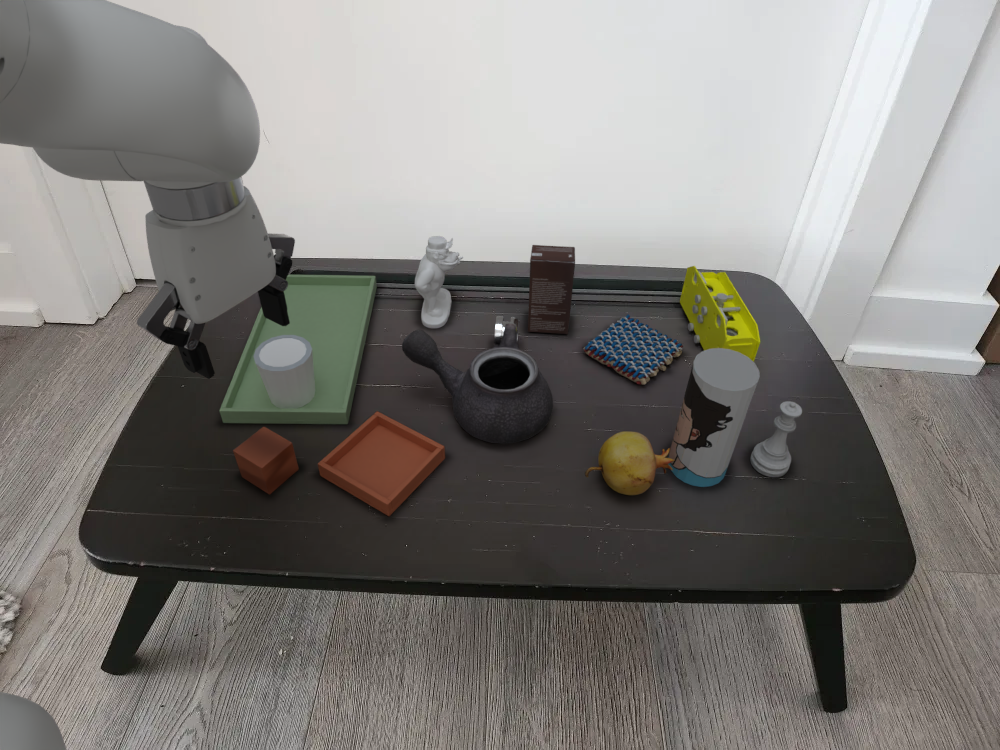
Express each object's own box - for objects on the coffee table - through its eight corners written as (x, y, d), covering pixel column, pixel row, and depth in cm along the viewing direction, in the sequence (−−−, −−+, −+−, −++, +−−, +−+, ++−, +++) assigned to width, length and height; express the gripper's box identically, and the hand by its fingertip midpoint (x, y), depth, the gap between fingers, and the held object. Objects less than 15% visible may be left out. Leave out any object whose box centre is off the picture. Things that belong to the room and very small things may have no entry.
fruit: (593, 479, 75) (687, 472, 76) (583, 422, 79) (672, 415, 80) (585, 506, 81) (672, 499, 82) (576, 451, 85) (659, 445, 86)
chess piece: (789, 456, 86) (816, 395, 79) (786, 482, 83) (813, 421, 76) (752, 445, 87) (775, 384, 81) (747, 471, 84) (770, 410, 78)
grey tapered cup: (309, 416, 89) (299, 373, 84) (255, 409, 89) (243, 366, 85) (327, 379, 94) (320, 337, 89) (277, 373, 94) (266, 330, 90)
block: (269, 494, 80) (261, 468, 77) (241, 477, 82) (232, 450, 79) (299, 469, 83) (292, 442, 80) (271, 452, 85) (263, 426, 82)
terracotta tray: (389, 516, 78) (387, 504, 77) (319, 475, 82) (317, 463, 81) (445, 458, 85) (444, 446, 83) (378, 423, 89) (377, 410, 87)
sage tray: (347, 424, 88) (345, 412, 87) (223, 423, 88) (218, 410, 87) (376, 287, 110) (375, 275, 109) (276, 285, 110) (274, 274, 109)
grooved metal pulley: (496, 336, 102) (497, 308, 98) (517, 338, 102) (519, 309, 98) (493, 359, 98) (494, 330, 95) (515, 361, 98) (516, 332, 95)
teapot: (556, 370, 97) (562, 310, 90) (548, 455, 85) (554, 394, 79) (417, 357, 98) (413, 297, 92) (392, 439, 87) (384, 377, 80)
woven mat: (686, 354, 100) (689, 342, 99) (641, 391, 94) (643, 379, 93) (624, 321, 105) (626, 310, 104) (579, 354, 99) (580, 343, 98)
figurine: (458, 329, 103) (457, 257, 95) (413, 327, 103) (407, 255, 95) (464, 292, 110) (463, 222, 102) (421, 290, 110) (416, 220, 102)
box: (568, 316, 106) (576, 245, 98) (568, 335, 102) (576, 263, 94) (527, 313, 106) (531, 242, 98) (525, 333, 103) (529, 260, 95)
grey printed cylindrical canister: (707, 438, 88) (737, 343, 78) (737, 479, 83) (772, 383, 73) (657, 450, 86) (681, 354, 76) (685, 492, 82) (714, 396, 72)
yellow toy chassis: (675, 306, 108) (686, 258, 103) (712, 304, 109) (724, 257, 103) (710, 377, 96) (724, 328, 91) (751, 374, 97) (768, 325, 91)
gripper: (244, 141, 68) (278, 291, 79) (74, 218, 57) (142, 379, 68) (303, 162, 65) (329, 315, 76) (135, 248, 54) (195, 411, 65)
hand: (241, 345), depth 72 cm, fingers open, 9 cm apart
